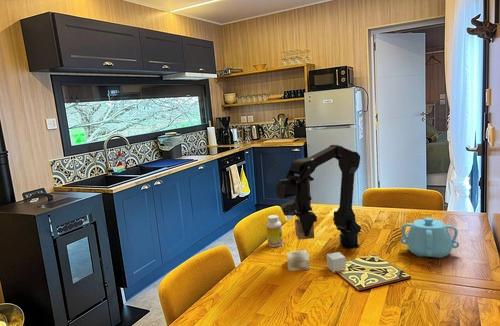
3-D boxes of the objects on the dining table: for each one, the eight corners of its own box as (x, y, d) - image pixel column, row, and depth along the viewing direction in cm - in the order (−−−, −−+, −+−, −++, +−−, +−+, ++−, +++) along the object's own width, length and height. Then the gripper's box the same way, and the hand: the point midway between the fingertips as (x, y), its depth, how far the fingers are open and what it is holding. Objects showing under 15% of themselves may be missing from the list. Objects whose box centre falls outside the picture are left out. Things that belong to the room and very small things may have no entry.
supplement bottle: (282, 247, 159) (279, 218, 157) (266, 247, 160) (264, 219, 158) (283, 241, 165) (281, 213, 163) (269, 241, 167) (266, 214, 165)
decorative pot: (432, 241, 150) (432, 209, 148) (464, 256, 134) (463, 220, 132) (397, 248, 146) (396, 216, 144) (425, 265, 131) (424, 228, 129)
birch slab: (308, 260, 144) (307, 251, 143) (309, 270, 136) (309, 260, 135) (287, 262, 145) (286, 252, 144) (288, 271, 137) (287, 261, 136)
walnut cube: (310, 232, 144) (310, 218, 143) (314, 238, 138) (313, 222, 137) (295, 234, 143) (294, 219, 142) (298, 239, 137) (297, 224, 137)
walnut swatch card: (306, 250, 153) (305, 249, 153) (309, 257, 146) (309, 256, 146) (289, 252, 153) (289, 251, 153) (292, 259, 146) (292, 258, 146)
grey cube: (339, 264, 138) (338, 251, 137) (346, 270, 133) (345, 257, 132) (327, 267, 137) (326, 254, 136) (333, 272, 132) (332, 259, 131)
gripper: (277, 190, 147) (280, 227, 149) (284, 201, 128) (287, 244, 131) (305, 187, 147) (307, 225, 150) (316, 199, 129) (318, 241, 131)
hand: (304, 233), depth 140 cm, fingers closed on walnut cube, 6 cm apart
